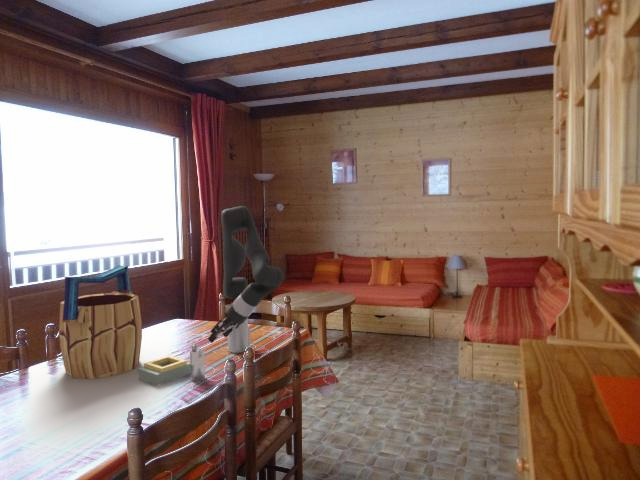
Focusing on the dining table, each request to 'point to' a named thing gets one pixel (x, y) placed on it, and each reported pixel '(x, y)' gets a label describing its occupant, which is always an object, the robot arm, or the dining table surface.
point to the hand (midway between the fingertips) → (217, 338)
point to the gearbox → (164, 370)
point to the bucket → (100, 328)
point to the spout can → (197, 363)
